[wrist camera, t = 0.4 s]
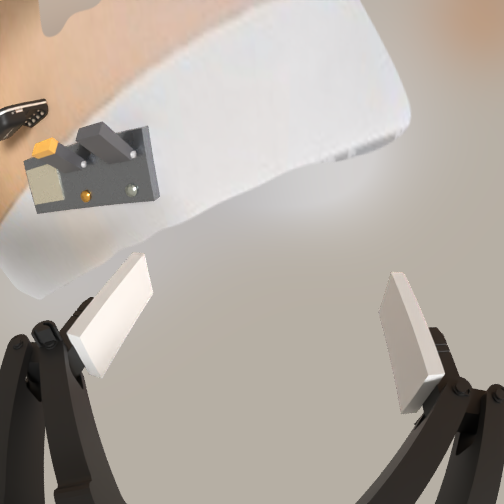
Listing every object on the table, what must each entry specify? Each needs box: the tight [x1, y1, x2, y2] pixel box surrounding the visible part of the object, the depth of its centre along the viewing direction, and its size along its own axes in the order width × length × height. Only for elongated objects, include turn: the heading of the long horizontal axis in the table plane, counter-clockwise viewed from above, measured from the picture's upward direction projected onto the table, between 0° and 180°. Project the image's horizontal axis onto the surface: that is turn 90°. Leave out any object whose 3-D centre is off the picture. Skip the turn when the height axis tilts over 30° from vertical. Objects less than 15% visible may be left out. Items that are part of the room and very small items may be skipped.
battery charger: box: [0, 99, 48, 141], centre depth 33 cm, size 7×4×11 cm, turn 107°
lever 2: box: [76, 122, 137, 164], centre depth 34 cm, size 2×5×8 cm
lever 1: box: [32, 138, 87, 174], centre depth 35 cm, size 2×5×8 cm
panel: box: [24, 126, 160, 214], centre depth 42 cm, size 11×28×2 cm, turn 95°
